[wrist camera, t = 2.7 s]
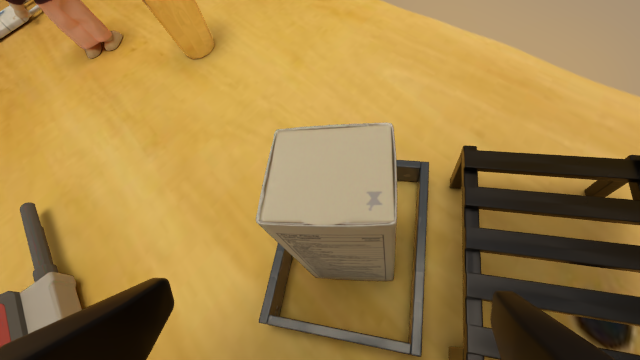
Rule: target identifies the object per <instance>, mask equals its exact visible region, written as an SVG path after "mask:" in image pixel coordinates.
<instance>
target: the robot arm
mask: <svg viewBox="0 0 640 360" xmlns="http://www.w3.org/2000/svg"><path fill="white" fill-rule="evenodd" d="M173 307H174V299H173V295H172V291H171V287H170V284H169V281H168V280H167V279H165V278H152V279H149V280H147V281H145V282H143V283H140V284H138V285H136V286H134V287H131V288H129V289H127V290H125V291H123V292H120V293H118V294H116V295H114V296H111V297H109V298H107V299H105V300H103V301H100V302H98V303H96V304H94V305H91V306H89V307H87V308H85V309H82V310H80V311H78V312H76V313H74V314H71V315H69V316H67V317H65V318H62V319H60V320H58V321H56V322H53V323H51V324H49V325H47V326H45V327H42V328H40V329H38V330H36V331H33V332H31V333H29V334H27V335H25V336H22V337H20V338H18V339H16V340H13V341H11V342H9V343H7V344H4V345H3V346H1V347H0V360H146V359H147V357H148V355H149V354H150V352H151V350H152V348H153V346H154V344H155V342H156V341H157V339H158V337H159V335H160V333H161V331H162V329H163V327H164V325H165V323H166V322H167V320H168V318H169V316H170V314H171V312H172V310H173ZM491 327H492V331H493V334H494V337H495V341H496V344H497V347H498V351H499V354H500V357H501V360H615V359H614V358H612V357H611V356H609V355H608V354H606V353H605V352H603V351H602V350H600V349H599V348H597V347H596V346H594V345H593V344H591V343H590V342H588V341H587V340H585V339H584V338H582V337H581V336H579V335H578V334H576V333H575V332H573V331H572V330H570V329H569V328H567V327H566V326H564V325H563V324H561V323H560V322H558V321H557V320H555V319H554V318H552V317H551V316H549V315H548V314H546V313H545V312H543V311H542V310H540V309H539V308H537V307H536V306H534V305H533V304H531V303H530V302H528V301H527V300H525V299H524V298H522V297H521V296H519V295H518V294H516V293H514V292H511V291H496V292H494V294H493V299H492V309H491Z"/></svg>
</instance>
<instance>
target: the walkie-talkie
mask: <svg viewBox="0 0 640 360" xmlns="http://www.w3.org/2000/svg"><path fill="white" fill-rule="evenodd" d="M20 212H21V216H22V221H23V225H24V229H25V233H26V237H27V241H28V245H29V249H30V253H31V257H32V261H33V265H34V269H35V270H34V271H33V277H34V281H35V283H34V284H32V285H31V286H29V287H28V288H27V289H25V290H24V291H22V292H21V293H20V292H13V291H7V292H5V293H3V294H0V347H1V346H3V345H4V344H7V343H9V342H11V341H13V340H16V339H18V338H20V337H22V336H25V335H27V334H29V333H31V332H33V331H36V330H38V329H40V328H42V327H45V326H47V325H49V324H51V323H53V322H56V321H58V320H60V319H62V318H65V317H67V316H69V315H71V314H74V313H76V312H78V311H80V310H82V309H81V305H80V302H79V299H78V296H77V292H76V289H75V288H76V281H75V278H74V276H71V275H66V274H61V273H59V272H58V269H57V266H56V265H54V264H53V260H52V257H51V253H50V250H49V246H48V243H47V239H46V236H45V232H44V228H43V227H42V226H41V224H40V221H39V217H38V214H37V210H36V207H35V204H34V203H24V204H23V205H22V206H21V207H20Z"/></svg>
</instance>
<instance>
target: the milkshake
mask: <svg viewBox="0 0 640 360" xmlns="http://www.w3.org/2000/svg"><path fill="white" fill-rule="evenodd" d="M142 1H143V2H144V3H145V5H146V6H147V7H148V8H149V10H150V11H151V12H152V13H153V14H154V16H155V17H156V18H157V20H158V21H159V22H160V23H161V25H162V26H163V27H164V28H165V30H166V31H167V32H168V33H169V35H170V36H171V37H172V38H173V40H174V41H175V42H176V44H177V45H178V46H179V47H180V49H181V50H182V51H183V52H184V54H185V55H186V56H188V57H190V58H191V59H195V58H202V57H203V56H205V55H207V54H209V53H210V52H211V50H212V49H213V48H214V39H213V37H212V35H211V33H210V30H209V28H208V26H207V24H206V22H205V20H204V17H203V15H202V13H201V11H200V9H199V7H198V5H197V2H196V0H142Z"/></svg>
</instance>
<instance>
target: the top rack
mask: <svg viewBox="0 0 640 360" xmlns="http://www.w3.org/2000/svg"><path fill="white" fill-rule="evenodd" d="M478 171H482V172H496V173H509V174H523V175H536V176H550V177H563V178H577V179H590V180H597V181H596V182H595V183H593V184H592V185H591V186H589V187H588V188H587V189H585V195H586V196H580V195H569V194H557V193H545V192H533V191H521V190H510V189H498V188H486V187H478ZM628 182H629V186H630V190H631V194H632V197H633V200H628V199H616V198H605V197H606V196H608V195H609V194H611V193H612V192H614V191H616V190H617V189H619V188H620V187H622V186H623V185H625V184H626V183H628ZM461 187H462V249H463V343H464V348H463V347H449V360H484V356H485V357H490V358H495V359H500V360H501V357H500V354H499V351H498V347H497V344H496V341H495V337H494V334H493V331H492V328H487V327H483V312H482V301H488V302H492V299H493V294H494V292H496V291H511V292H514V293H516V294H518V295H519V296H521V297H522V298H524V299H525V300H527V301H528V302H530V303H531V304H533V305H534V306H536V307H537V308H539V309H540V310H543V311H549V312H555V313H561V314H567V315H573V316H579V317H585V318H591V319H598V320H604V321H610V322H616V323H622V324H628V325H634V326H640V297H636V296H629V295H623V294H616V293H609V292H602V291H595V290H588V289H581V288H574V287H567V286H561V285H554V284H547V283H540V282H533V281H526V280H519V279H512V278H506V277H499V276H492V275H485V274H481V255H480V252H485V253H492V254H500V255H508V256H515V257H523V258H531V259H538V260H546V261H554V262H561V263H569V264H577V265H584V266H592V267H600V268H608V269H615V270H623V271H631V272H638V273H640V246H637V245H628V244H619V243H610V242H601V241H592V240H584V239H575V238H566V237H557V236H548V235H539V234H531V233H522V232H513V231H504V230H495V229H486V228H480V227H479V209H483V210H493V211H503V212H513V213H523V214H532V215H542V216H552V217H562V218H572V219H582V220H592V221H602V222H612V223H622V224H632V225H640V155H629V156H628V157H627V158H625V159H612V158H596V157H579V156H562V155H545V154H528V153H511V152H495V151H478V150H477V147H476V146H463V149H462V151H461V154H460V157H459V159H458V161H457V164H456V166H455V169H454V171H453V173H452V176H451V178H450V188H458V189H460V188H461ZM599 349H600V350H602V351H603V352H605V353H606V354H608V355H609V356H611V357H612V358H614V359H615V360H640V355H636V354H630V353H625V352H619V351H614V350H608V349H603V348H599Z"/></svg>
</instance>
